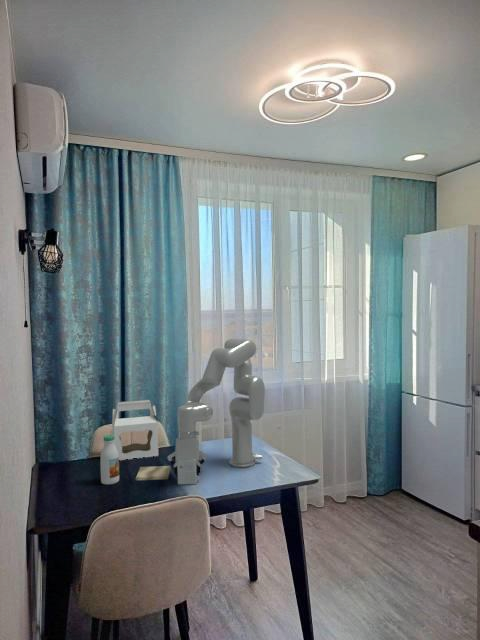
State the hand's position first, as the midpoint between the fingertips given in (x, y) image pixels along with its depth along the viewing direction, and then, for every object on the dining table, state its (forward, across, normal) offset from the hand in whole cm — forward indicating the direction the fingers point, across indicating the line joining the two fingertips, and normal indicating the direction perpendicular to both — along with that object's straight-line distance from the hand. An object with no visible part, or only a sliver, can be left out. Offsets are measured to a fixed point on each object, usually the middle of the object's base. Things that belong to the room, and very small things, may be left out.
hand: (187, 475), depth 199 cm
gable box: (+3, +29, -43) cm, 52 cm away
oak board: (+3, +16, -12) cm, 20 cm away
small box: (+3, 0, 0) cm, 4 cm away
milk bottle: (+4, +34, -5) cm, 34 cm away
